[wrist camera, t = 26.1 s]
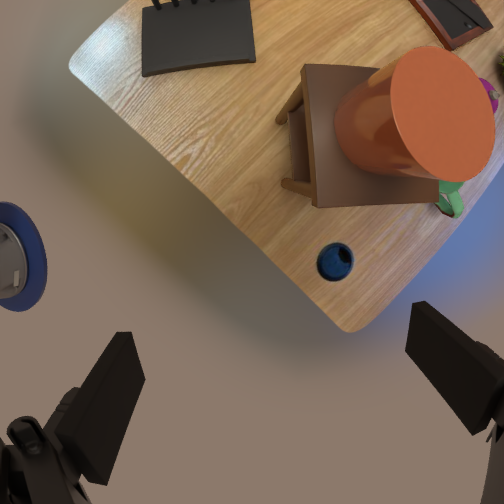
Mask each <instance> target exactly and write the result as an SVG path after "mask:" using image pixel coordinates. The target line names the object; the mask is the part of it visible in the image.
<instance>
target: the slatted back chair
mask: <svg viewBox="0 0 504 504" xmlns="http://www.w3.org/2000/svg"><path fill="white" fill-rule="evenodd" d="M151 1H152V2H153V4H154V6H149V7H145V8H142V76H143V77H147V76H152V75H157V74H163V73H168V72H174V71H180V70H186V69H193V68H201V67H209V66H218V65H227V64H239V63H254V62H256V57H255V47H254V38H253V29H252V20H251V11H250V2H249V0H179V1H178V0H171V1H172V2H168V3H163V4H160V2H159V0H151Z"/></svg>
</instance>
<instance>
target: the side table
mask: <svg viewBox="0 0 504 504" xmlns="http://www.w3.org/2000/svg"><path fill="white" fill-rule="evenodd" d="M378 70H380V68H370V67H360V66H347V65H330V64H304V66H303V67H302V69H301V71H300V73H301V82H300V84H299V85H298V86H297V88H296V89H295V91H294V92H293V94H292V95H291V96H290V98H289V99H288V101H287V102H286V104H285V105H284V106H283V108H282V109H281V111H280V112H279V114H278V115H277V117H276V119H275V120H276V123H277V124H279V125H283V124H284V123H285V122H286V121H287V120H288V129H289V140H290V152H291V164H292V178H293V179H290V178H284V179H282V181H281V186H282V187H283V188H286V189H288V190H291V191H293V192H296V193H298V194H301V195H303V196H306V197H308V198H311V199H312V206H314V207H316V208H331V207H347V206H365V205H385V204H408V203H437V202H439V181H438V180H429V179H419V178H409V177H397V176H385V175H375V174H371V173H368V172H366V171H363V170H362V169H360V168H358V167H357V166H356V165H354V164H353V163H352V162H351V161H350V160H349V159H348V158H347V156H346V155H345V154H344V152H343V151H342V149H341V147H340V145H339V143H338V140H337V137H336V133H335V126H334V118H335V112H336V108H337V106H338V103H339V101H340V100H341V98H342V97H343V95H344V94H345V93H346V92H347V91H349V90H350V89H351V88H353V87H354V86H356V85H357V84H359V83H360V82H362V81H363V80H365V79H366V78H368V77H369V76H371V75H372V74H374V73H375V72H377V71H378Z"/></svg>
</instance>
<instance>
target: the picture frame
mask: <svg viewBox="0 0 504 504" xmlns="http://www.w3.org/2000/svg"><path fill="white" fill-rule="evenodd" d="M409 1H410V2H411V3H412V5H413V6H414V7H415V8H416V9H417V11H418V12H419V13H420V14H421V16H422V17H423V18H424V19H425V21H426V22H427V23H428V25H429V26H430V27H431V29H432V30H433V31H434V33H435V34H436V35H437V37H438V38H439V40H440V41H441V43H442V44H443V45H444V47H445V48H446V50H447V51H451V50H453V49H455V48H457V47H459V46H460V45H462V44H464V43H466V42H467V41H469V40H471V39H473V38H475V37H477V36H478V35H480V34H482V33H484V32H486V31H488V30H490V29H492V28H493V25H492V24H491V22H490V21H489V19H488V18H487V17H486V15H485V14H484V12H483V11H482V9H481V8H480V7H479V5H478V4H477V2H476V1H475V0H409Z"/></svg>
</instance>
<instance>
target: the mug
mask: <svg viewBox="0 0 504 504" xmlns="http://www.w3.org/2000/svg"><path fill="white" fill-rule="evenodd" d="M464 182H465V181H463V182H447V181H439V202H437V203H434V204H435V205H436V207H437V208H438V209H439V210H440V211H441V212H442V214H444V215H447V216H449V217H451V218H458V217H459V216H460V215H461V213H462V211H463V209H464V206H463V203H462V199H461V197H460V195H459V192H458V189H459V188H460V187H462V186H463V184H464ZM440 193H444V194H446V195H447V198H448V200H449V202H450V204H451V205H450V204H449V203H448V202H447V201H446V199H445V198H444V197H443V196H442V195H441V194H440Z"/></svg>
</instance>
